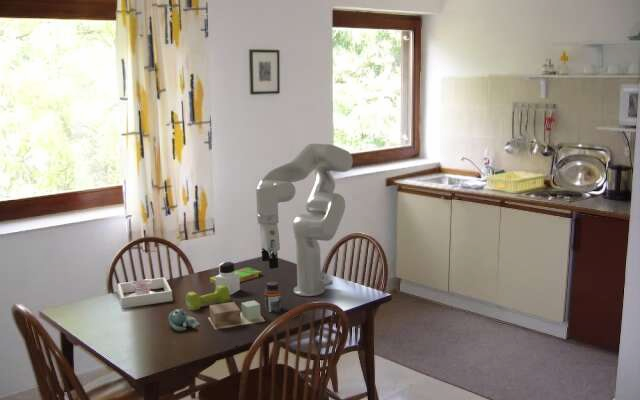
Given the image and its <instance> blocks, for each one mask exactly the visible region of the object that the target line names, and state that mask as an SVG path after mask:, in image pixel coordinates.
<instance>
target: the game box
mask: <svg viewBox="0 0 640 400" xmlns="http://www.w3.org/2000/svg"><path fill="white" fill-rule="evenodd" d="M234 271H235V273H239V281H240V283H241V282H245V281H248V280H252V279H256V278H259V273H262V271H260V270H258V269H254V268H252V267H248V266H247V267H243V268H239V269H236V270H234ZM215 276H216V275H215ZM215 276H211V277H209V282H210V283H213V284H214V285H216V282H215Z"/></svg>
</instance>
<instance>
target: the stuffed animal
mask: <svg viewBox="0 0 640 400" xmlns="http://www.w3.org/2000/svg"><path fill="white" fill-rule="evenodd" d="M168 323H169V325H170V326H171V328H173V330H174V331H176V332H183V331H186V330H187V327H191V328H192V329H197V327H198V326H200V325H201V324H200V322H199V321H198V320H197V318H195V317H194V316H191V315H187V312H186V311H185V309H184V308H180V309H179V308H177V309H174V310H173V311H171V312H170V313H169V315H168Z"/></svg>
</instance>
